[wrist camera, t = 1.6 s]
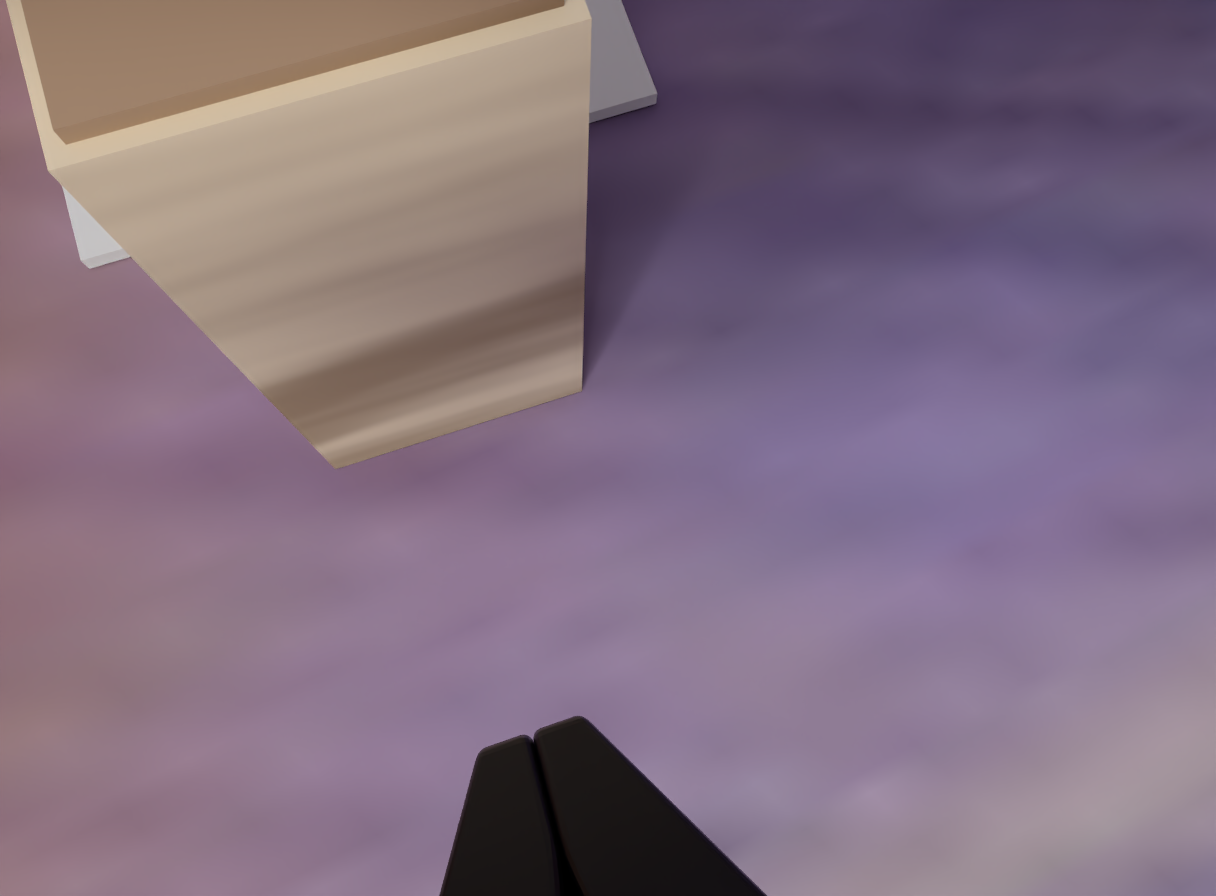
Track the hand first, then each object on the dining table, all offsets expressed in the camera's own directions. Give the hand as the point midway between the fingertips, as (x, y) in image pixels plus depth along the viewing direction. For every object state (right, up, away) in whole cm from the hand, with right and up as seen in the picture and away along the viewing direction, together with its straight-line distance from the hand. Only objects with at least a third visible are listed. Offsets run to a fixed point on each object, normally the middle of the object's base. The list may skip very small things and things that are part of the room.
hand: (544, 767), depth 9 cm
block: (-3, +5, +14) cm, 15 cm away
